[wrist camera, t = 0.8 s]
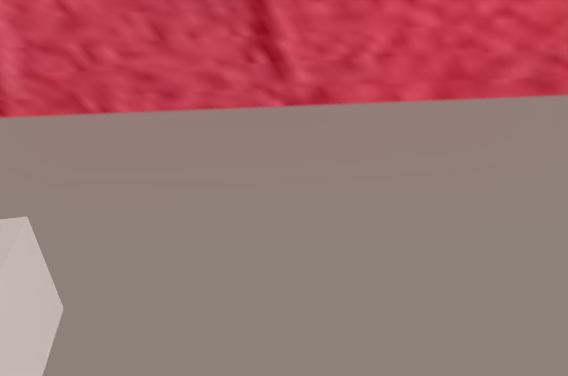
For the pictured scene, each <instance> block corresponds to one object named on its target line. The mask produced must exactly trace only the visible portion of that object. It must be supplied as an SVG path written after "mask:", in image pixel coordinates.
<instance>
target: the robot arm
mask: <svg viewBox="0 0 568 376" xmlns="http://www.w3.org/2000/svg"><path fill="white" fill-rule="evenodd" d="M62 312H63V306H62V304H61V301H60V298H59V296H58V293H57V291H56V288H55V286H54V283H53V281H52V278H51V276H50V273H49V271H48V268H47V266H46V263H45V261H44V258H43V256H42V253H41V251H40V248H39V246H38V243H37V241H36V238H35V235H34V233H33V230H32V228H31V225H30V223H29V220H28V218H27V217H20V218H11V219H3V220H0V376H42V375H43V372H44V369H45V365H46V362H47V359H48V356H49V353H50V350H51V347H52V343H53V340H54V337H55V334H56V331H57V328H58V325H59V322H60V318H61V315H62Z"/></svg>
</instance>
